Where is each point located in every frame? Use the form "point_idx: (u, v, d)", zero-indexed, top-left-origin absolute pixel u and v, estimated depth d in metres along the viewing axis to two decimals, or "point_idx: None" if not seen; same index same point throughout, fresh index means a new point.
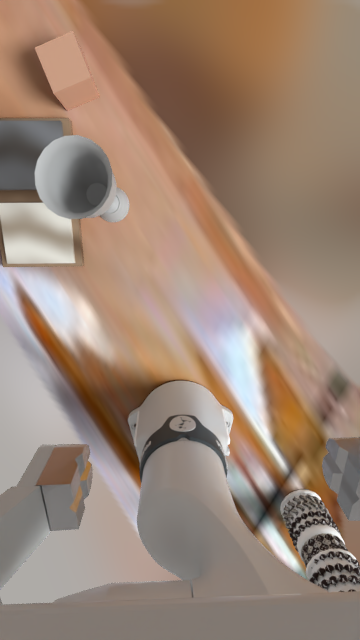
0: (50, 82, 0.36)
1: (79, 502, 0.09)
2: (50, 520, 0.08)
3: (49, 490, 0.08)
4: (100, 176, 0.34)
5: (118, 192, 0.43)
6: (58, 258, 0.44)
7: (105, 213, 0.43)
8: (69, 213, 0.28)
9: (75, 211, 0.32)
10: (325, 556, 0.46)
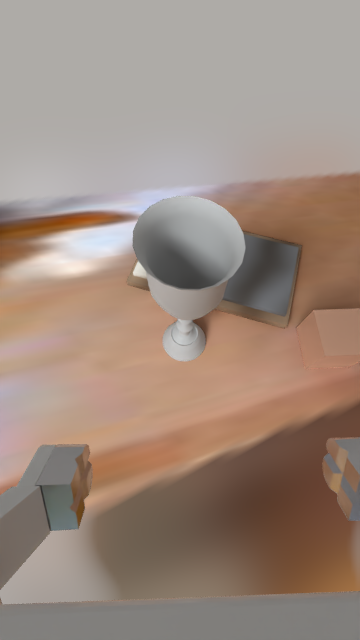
0: (324, 311, 0.31)
1: (79, 502, 0.09)
2: (50, 520, 0.08)
3: (49, 490, 0.08)
4: None
5: (193, 349, 0.33)
6: None
7: (173, 324, 0.33)
8: (150, 225, 0.20)
9: (165, 258, 0.24)
10: None
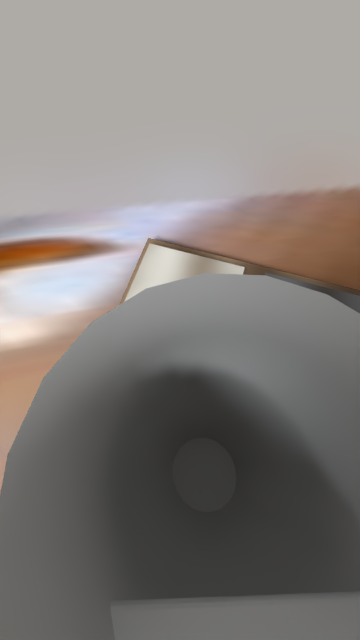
0: None
1: None
2: None
3: None
4: (249, 516, 0.10)
5: None
6: None
7: None
8: (99, 384, 0.05)
9: (158, 398, 0.09)
10: None
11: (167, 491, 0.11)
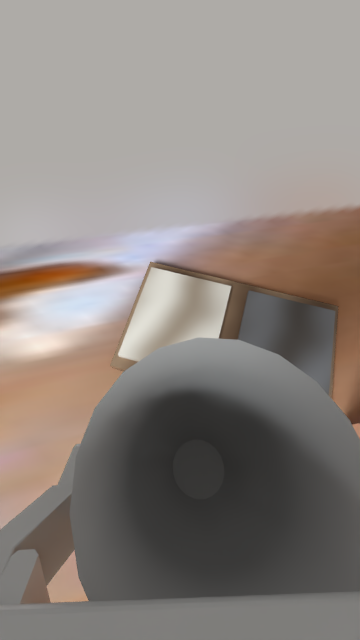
0: None
1: None
2: None
3: None
4: (232, 503, 0.13)
5: None
6: (133, 334, 0.28)
7: None
8: (126, 410, 0.08)
9: (163, 410, 0.12)
10: None
11: (168, 481, 0.14)
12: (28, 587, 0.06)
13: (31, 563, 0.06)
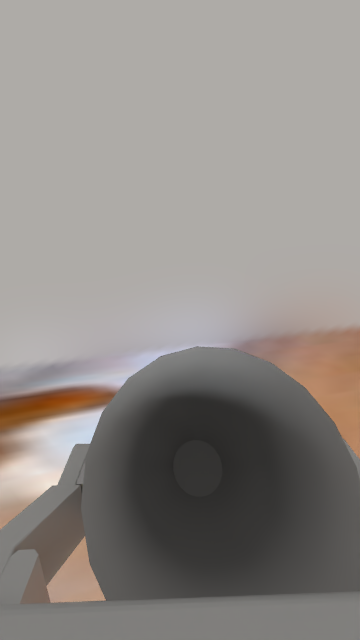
0: None
1: None
2: None
3: None
4: (230, 500, 0.14)
5: None
6: None
7: None
8: (130, 413, 0.09)
9: (164, 412, 0.13)
10: None
11: (168, 480, 0.14)
12: (28, 587, 0.06)
13: (31, 563, 0.06)
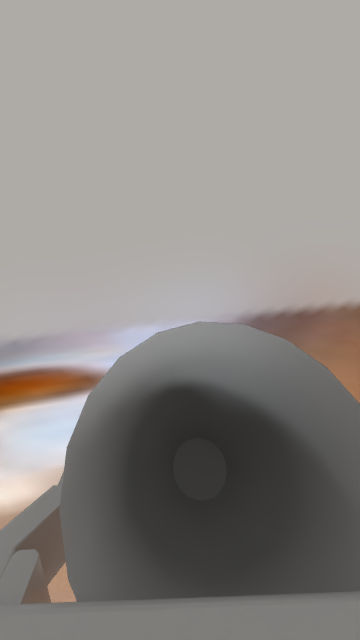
0: None
1: None
2: None
3: None
4: (236, 504, 0.12)
5: None
6: None
7: None
8: (122, 399, 0.07)
9: (162, 405, 0.12)
10: None
11: (168, 482, 0.13)
12: (29, 587, 0.06)
13: (32, 563, 0.06)
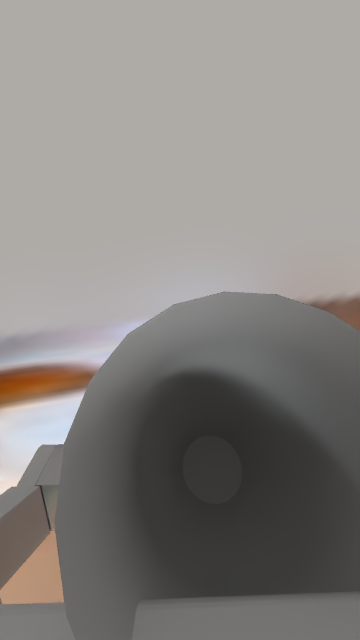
0: None
1: None
2: (50, 520, 0.08)
3: (49, 490, 0.08)
4: (255, 508, 0.11)
5: None
6: None
7: None
8: (131, 386, 0.06)
9: (173, 398, 0.10)
10: None
11: (178, 483, 0.12)
12: None
13: None
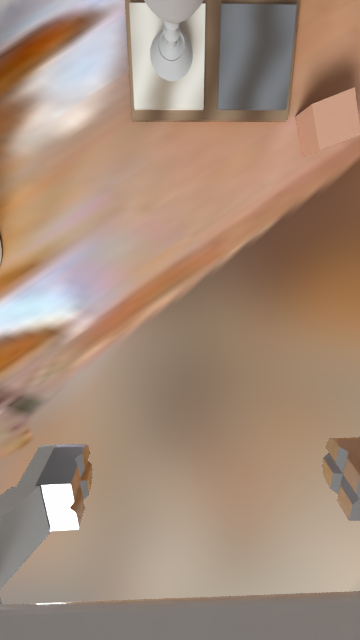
0: (322, 101, 0.34)
1: (79, 502, 0.09)
2: (50, 520, 0.08)
3: (49, 490, 0.08)
4: None
5: (184, 62, 0.34)
6: (139, 86, 0.36)
7: (158, 37, 0.33)
8: None
9: None
10: None
11: None
12: None
13: None
